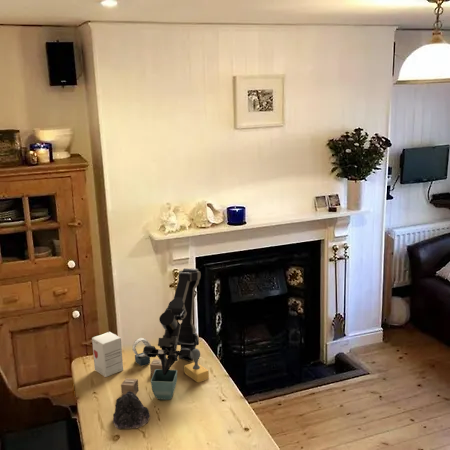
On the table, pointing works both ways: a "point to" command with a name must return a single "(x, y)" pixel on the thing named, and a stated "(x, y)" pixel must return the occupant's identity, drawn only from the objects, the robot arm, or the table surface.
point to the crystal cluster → (130, 412)
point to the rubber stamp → (196, 368)
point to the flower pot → (164, 384)
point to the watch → (141, 357)
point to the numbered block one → (129, 386)
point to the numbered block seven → (155, 365)
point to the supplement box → (107, 354)
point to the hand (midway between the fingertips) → (164, 374)
